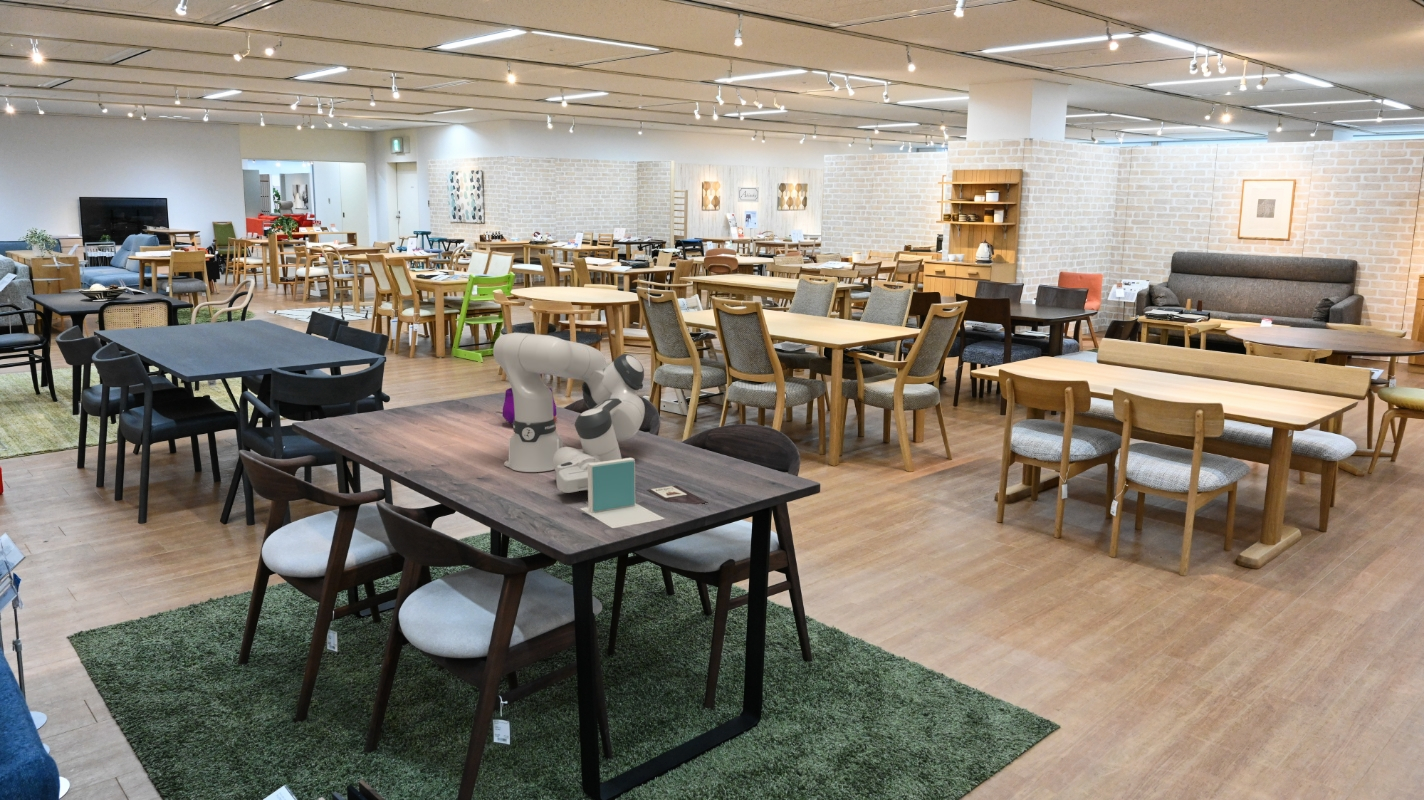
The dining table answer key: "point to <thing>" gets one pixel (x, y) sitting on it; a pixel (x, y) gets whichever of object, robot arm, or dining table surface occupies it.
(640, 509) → the mat
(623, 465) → the tile
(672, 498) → the chocolate bar
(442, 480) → the dining table surface
